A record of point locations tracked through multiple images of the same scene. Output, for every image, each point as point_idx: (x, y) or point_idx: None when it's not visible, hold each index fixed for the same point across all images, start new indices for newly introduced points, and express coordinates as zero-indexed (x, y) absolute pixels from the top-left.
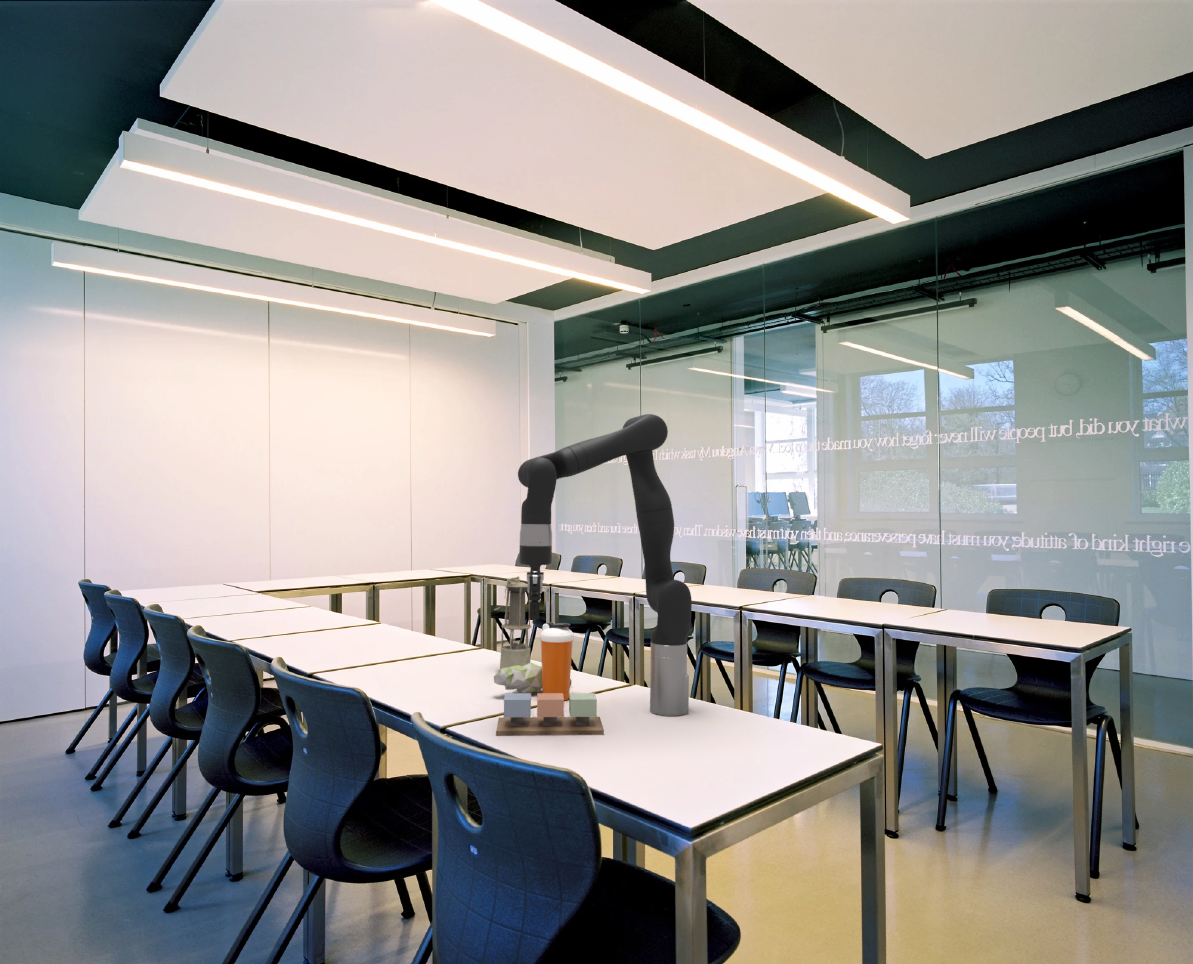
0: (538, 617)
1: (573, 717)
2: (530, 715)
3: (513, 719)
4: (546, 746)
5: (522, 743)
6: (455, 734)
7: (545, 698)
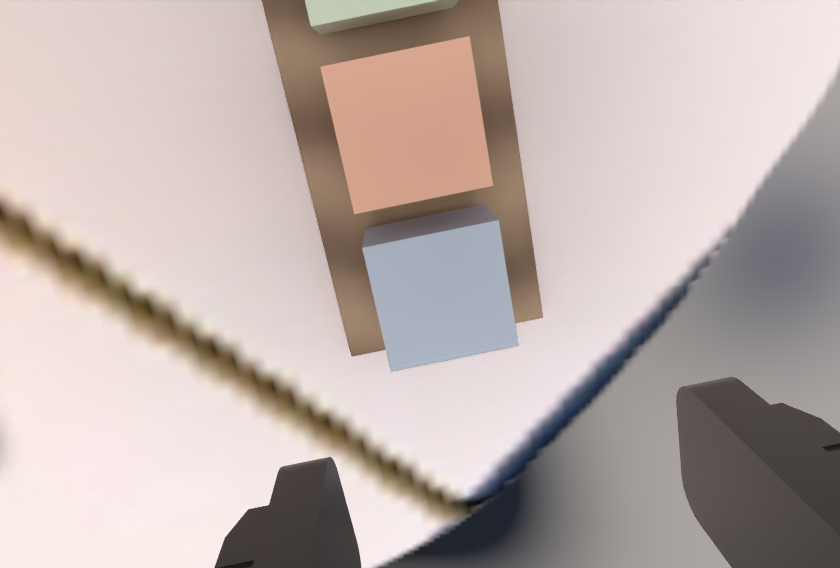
0: (739, 388)
1: (277, 21)
2: (471, 207)
3: None
4: (657, 86)
5: (624, 191)
6: (537, 448)
7: (459, 147)
